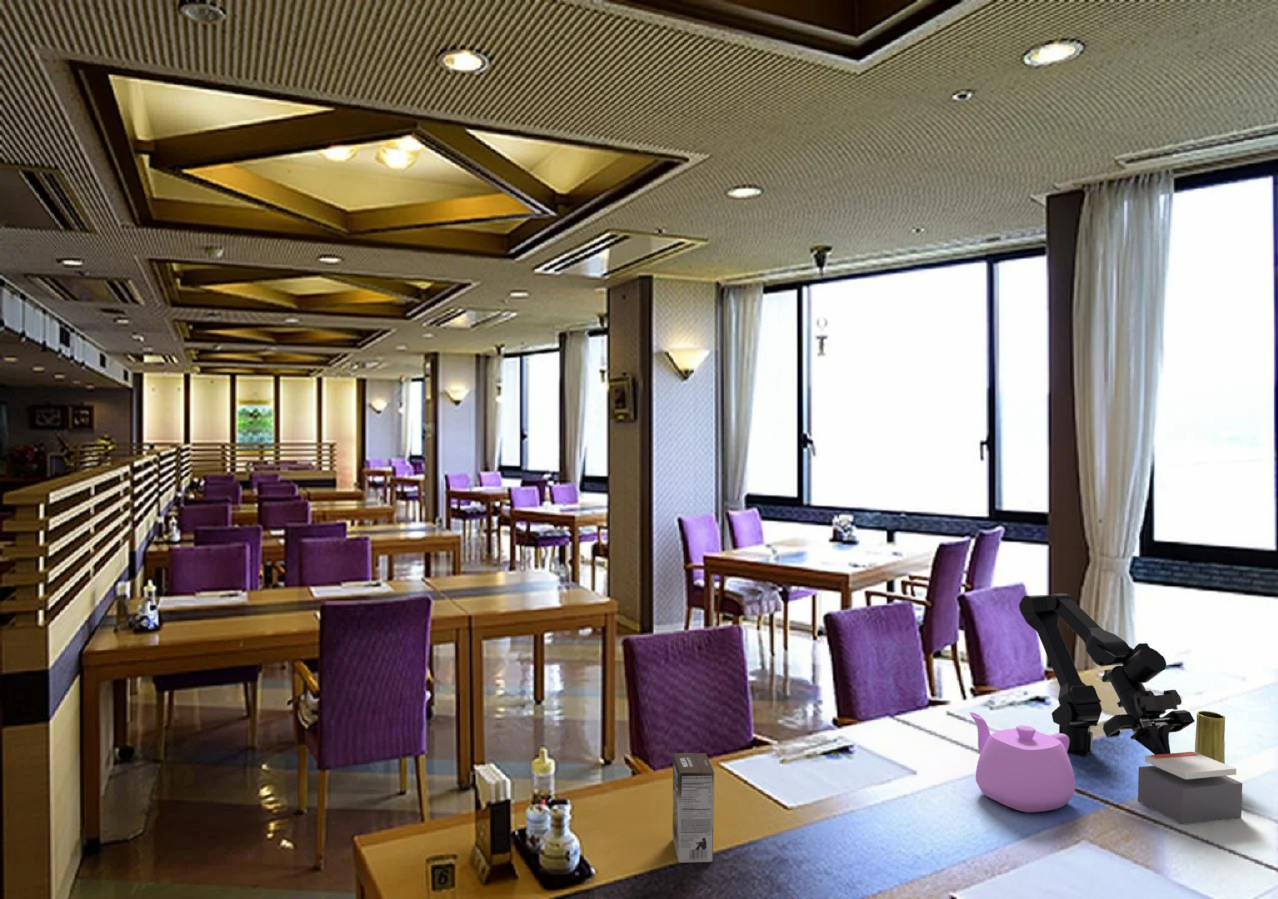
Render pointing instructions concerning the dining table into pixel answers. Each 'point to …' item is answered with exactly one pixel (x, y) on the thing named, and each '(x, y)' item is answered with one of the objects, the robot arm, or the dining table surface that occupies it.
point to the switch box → (1190, 796)
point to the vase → (1210, 735)
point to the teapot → (1024, 767)
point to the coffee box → (693, 807)
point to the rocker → (1190, 765)
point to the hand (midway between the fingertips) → (1168, 763)
